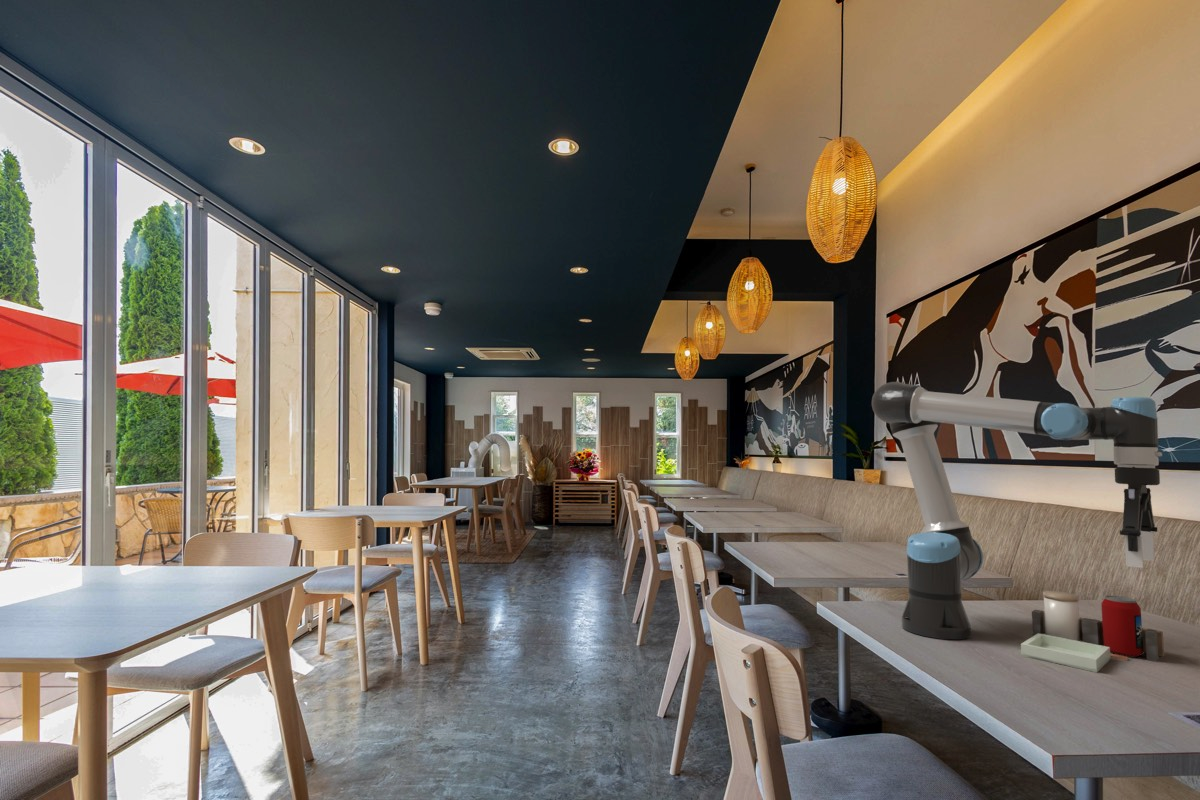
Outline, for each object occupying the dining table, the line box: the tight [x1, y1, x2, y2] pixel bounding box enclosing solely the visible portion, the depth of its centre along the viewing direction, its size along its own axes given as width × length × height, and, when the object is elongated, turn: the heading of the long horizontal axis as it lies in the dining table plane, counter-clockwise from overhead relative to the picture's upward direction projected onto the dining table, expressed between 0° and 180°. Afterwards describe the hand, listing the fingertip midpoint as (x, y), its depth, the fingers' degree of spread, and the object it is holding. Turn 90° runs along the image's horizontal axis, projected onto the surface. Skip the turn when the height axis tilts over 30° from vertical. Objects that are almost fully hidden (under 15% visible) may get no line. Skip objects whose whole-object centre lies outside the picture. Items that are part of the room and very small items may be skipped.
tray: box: [1020, 633, 1112, 673], centre depth 133 cm, size 13×13×2 cm
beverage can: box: [1101, 595, 1144, 658], centre depth 136 cm, size 7×7×12 cm
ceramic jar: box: [1042, 590, 1082, 642], centre depth 145 cm, size 7×7×11 cm
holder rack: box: [1031, 609, 1165, 662], centre depth 140 cm, size 23×12×6 cm, turn 41°
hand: (1140, 563), depth 134 cm, fingers open, 13 cm apart
